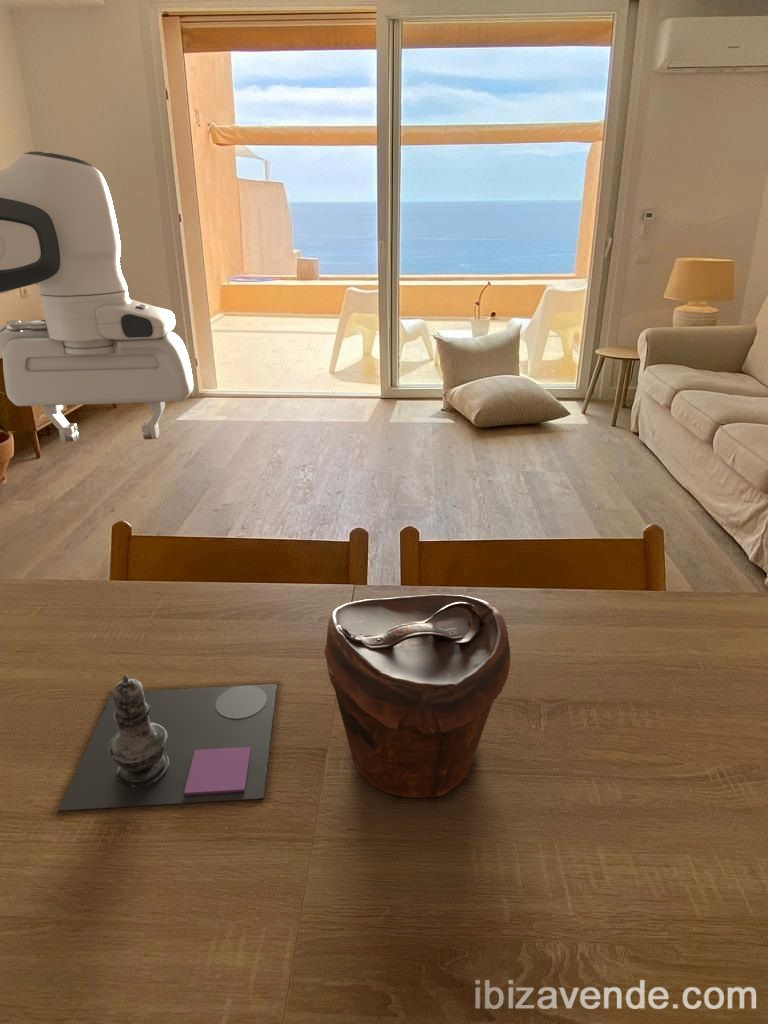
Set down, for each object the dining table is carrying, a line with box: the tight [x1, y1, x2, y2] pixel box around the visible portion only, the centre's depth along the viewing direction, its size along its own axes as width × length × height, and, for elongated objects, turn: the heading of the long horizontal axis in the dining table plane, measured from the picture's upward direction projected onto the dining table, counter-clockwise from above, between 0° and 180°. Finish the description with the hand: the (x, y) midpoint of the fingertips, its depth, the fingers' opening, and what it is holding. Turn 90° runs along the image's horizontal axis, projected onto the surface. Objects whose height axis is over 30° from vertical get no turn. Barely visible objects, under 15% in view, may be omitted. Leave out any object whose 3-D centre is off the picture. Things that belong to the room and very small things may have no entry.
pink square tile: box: [184, 747, 251, 795], centre depth 73 cm, size 6×6×1 cm
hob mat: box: [58, 683, 278, 812], centre depth 77 cm, size 20×18×1 cm
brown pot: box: [324, 593, 511, 799], centre depth 71 cm, size 18×20×18 cm
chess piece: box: [108, 674, 169, 787], centre depth 71 cm, size 6×6×12 cm
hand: (111, 439), depth 82 cm, fingers open, 8 cm apart
